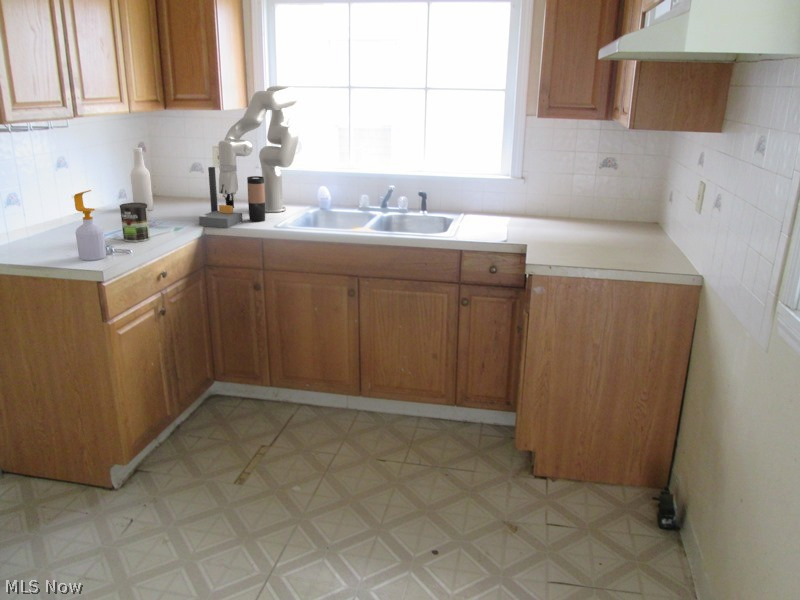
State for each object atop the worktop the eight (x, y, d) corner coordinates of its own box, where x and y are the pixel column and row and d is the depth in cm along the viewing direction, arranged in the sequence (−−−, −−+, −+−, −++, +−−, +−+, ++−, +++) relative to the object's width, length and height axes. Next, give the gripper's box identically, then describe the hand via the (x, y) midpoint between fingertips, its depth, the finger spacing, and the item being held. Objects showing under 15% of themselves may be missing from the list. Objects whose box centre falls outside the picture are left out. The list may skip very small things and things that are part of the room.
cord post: (211, 214, 310) (208, 165, 302) (226, 215, 308) (223, 166, 301) (203, 217, 303) (199, 168, 295) (218, 219, 301) (215, 169, 293)
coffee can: (142, 243, 256) (138, 208, 251) (118, 241, 257) (114, 206, 252) (155, 237, 266) (152, 203, 261) (132, 235, 267) (128, 201, 262)
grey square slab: (215, 219, 300) (214, 210, 299) (242, 221, 297) (242, 212, 296) (199, 225, 288) (198, 216, 286) (227, 227, 285) (227, 218, 283)
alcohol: (147, 212, 310) (141, 149, 301) (130, 211, 312) (123, 148, 302) (157, 208, 319) (150, 147, 309) (140, 207, 320) (133, 146, 310)
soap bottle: (96, 261, 229) (87, 193, 221) (73, 259, 231) (63, 191, 223) (111, 255, 238) (103, 189, 230) (89, 253, 239) (80, 187, 231)
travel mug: (267, 219, 304) (266, 176, 298) (262, 222, 297) (261, 178, 290) (252, 218, 305) (250, 175, 298) (246, 221, 298) (244, 178, 291)
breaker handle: (221, 211, 297) (221, 204, 296) (233, 212, 296) (232, 205, 295) (219, 212, 295) (218, 205, 294) (231, 213, 294) (230, 206, 293)
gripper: (228, 166, 301) (230, 205, 307) (212, 169, 287) (214, 210, 293) (243, 167, 299) (245, 206, 305) (227, 170, 285) (229, 211, 291)
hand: (230, 208), depth 299 cm, fingers closed
